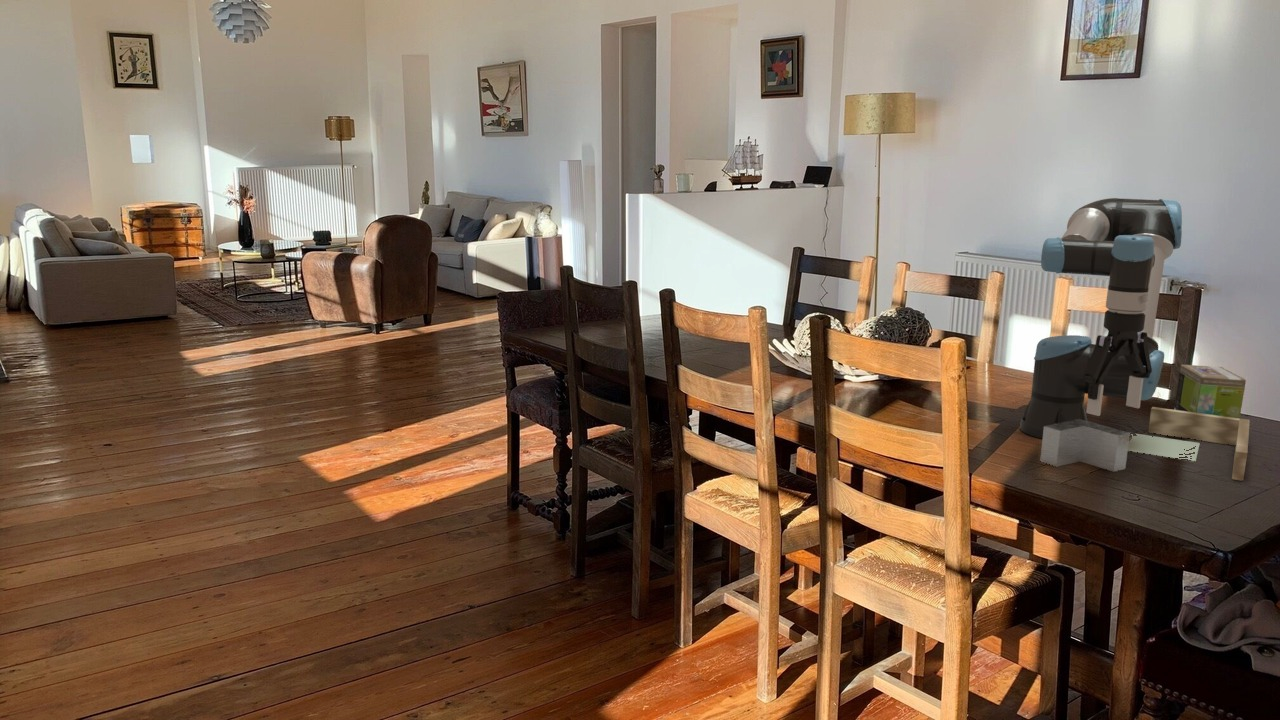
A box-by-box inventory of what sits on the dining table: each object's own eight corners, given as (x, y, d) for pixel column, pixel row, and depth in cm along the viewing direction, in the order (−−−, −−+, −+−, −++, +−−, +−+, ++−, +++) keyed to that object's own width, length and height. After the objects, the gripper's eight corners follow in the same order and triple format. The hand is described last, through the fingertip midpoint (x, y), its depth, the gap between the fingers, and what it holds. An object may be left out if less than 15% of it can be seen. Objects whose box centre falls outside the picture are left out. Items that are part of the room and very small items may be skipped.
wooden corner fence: (1135, 463, 209) (1138, 436, 208) (1149, 430, 234) (1152, 406, 233) (1243, 480, 199) (1247, 453, 198) (1245, 444, 224) (1249, 419, 222)
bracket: (1125, 468, 206) (1129, 432, 204) (1089, 477, 200) (1094, 440, 198) (1075, 453, 216) (1079, 418, 214) (1040, 461, 210) (1043, 426, 208)
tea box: (1238, 440, 227) (1247, 379, 224) (1191, 437, 229) (1200, 376, 226) (1214, 423, 242) (1223, 365, 239) (1171, 420, 244) (1178, 363, 241)
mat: (1114, 449, 219) (1114, 448, 219) (1123, 432, 233) (1123, 431, 232) (1195, 462, 211) (1195, 461, 211) (1199, 443, 224) (1199, 443, 224)
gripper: (1104, 317, 190) (1092, 421, 195) (1178, 309, 203) (1165, 407, 207) (1070, 312, 197) (1059, 413, 201) (1144, 304, 209) (1132, 400, 214)
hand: (1113, 410), depth 204 cm, fingers open, 13 cm apart
